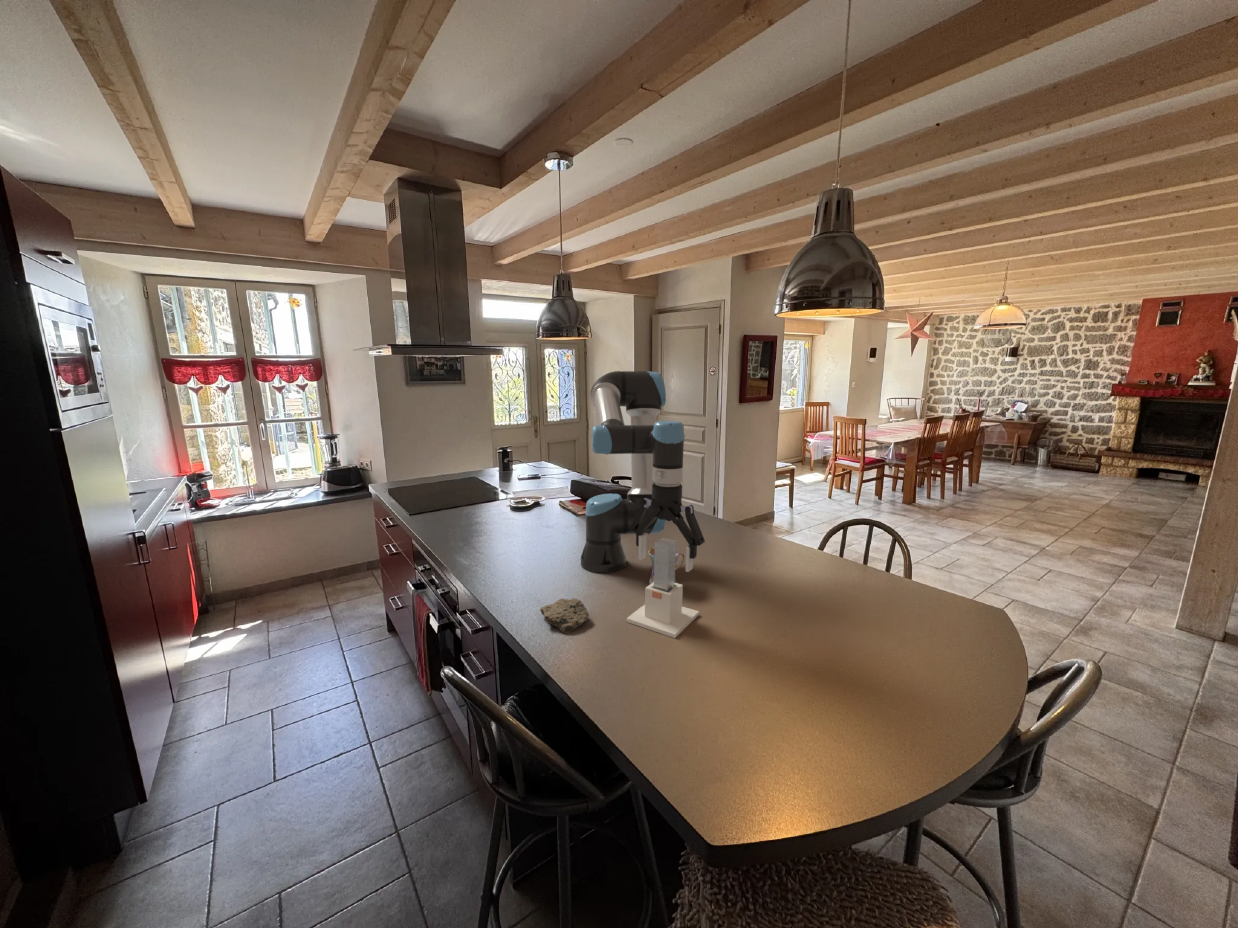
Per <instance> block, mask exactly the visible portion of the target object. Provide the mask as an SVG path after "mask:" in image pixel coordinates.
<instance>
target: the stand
mask: <svg viewBox="0 0 1238 928" xmlns="http://www.w3.org/2000/svg"><path fill="white" fill-rule="evenodd" d="M644 588H645V589H644V604H643V605H642V606H640V607H639V608H638V609H636V610H635V611H634V612H632V614H630V615H629V616H627V617H626V622H627V623H629V624H631V625H634V626H638V627H642V628H644V629H646V630H649V631H652V632H656V633H658V634H661V635H664V636H667V637H670V638H674V639H676V637H678V636H679V635H680V634H681V633H682V632H683V631H684V630H686V628H687V627H688V626H689V625H690V624H691V623H692V622H693V621H694V620H695V619H696V618H698V616H699V615H700V611H699V610H696V609H693V608H689V607H686V606H683V593H684V592H683V590H684V589H683V588H684V585H683V584H682V583H678V582H677V583H675V587H674V589H672V590H671V591H670V592H669V593H668V592H664V591H661V590H657V589H654V582H653V583H651V584H649V585H647V586H646V587H644Z"/></svg>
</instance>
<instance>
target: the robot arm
mask: <svg viewBox="0 0 1238 928" xmlns="http://www.w3.org/2000/svg"><path fill="white" fill-rule="evenodd" d="M589 395H590V401H591V402H590V403H592V405H593V407H594V411H595V417H596V425H594V426H593V427H592V428H591V449H592V450H591V451H592V453H594V454H599V455H606V456H607V455H624V454H626V455H630V454H631V456H630V459H631V462H630V465H631V466H630V467H631V489H630V490H629V491H628V492H627V494H626V498H622V495H620V494H618V493H602V494H598V495H595V496H593V497H591V498H589V499H588V500H587V501H586V505H585V512H584V513H585V514H584V515H585V543H584V544H585V545H584V547H583V550H582V552H581V555H580V566H581V567H582V568H583V569H585V570H586V571H589V572H593V573H603V574H604V573H613V572H618V571H620V570H622V569H624V568H625V567H626V564H627V561H626V560H627V557H626V555H625V551H624V548H623V544H622V535H635V539H636V540H635V545H636V547H638V554H637V555H638V560H639V561H642V560H644V559H645V558H646V557H647V534H648V535H651V534H652V535H653V534H661V533H662V532H663V531H664V529H665V527H666V524H667V522H672V523H673V524H674V525H675V526H676V527H677V529H678V530H679V532H680V534H682V536H683V538H684V540H685V541H686V542H687V544H688V545H686V547H685V548H686V549H685V569H684V570H685V571H684V572H686V573H689V572H690V571H692V570H693V568H694V559H696V558H697V553H698V551H697V550H698V546H699V547H700V546H701V545H703V544H704V543H705V542H706V541H705V537H704V535H703V532H702V530H701V528H700V524H699V523H698V520H697V517H696V515H695V508H694V505H693V504H690V505H683V504H682V503H683V502H682V498H683V485H682V483H683V477H684V476H683V475H684V474H683V473H684V468H683V466H684V448H685V447H684V446H685V437H686V435H685V425H684V423H683V422H681V421H676V420H658V421H657V417H658V415H659V414H660V413H661V410H662V409H661V408H663V407H664V406H665V405H666V399H667V398H666V396H667V395H666V386H665V381H664V378H663V375H662V374H661V373H660V372H658V371H648V370H646V371H644V370H643V371H642V370H640V371H639V370H637V371H635V370H634V371H632V370H631V371H630V370H629V371H628V370H627V371H626V370H625V371H624V370H623V371H621V370H616V371H610V372H608V373H605V374H604V375H602V376H601V377H599V378H598V379H597V380H596V381H595V382H594V383H593V384H592V387H591V388H590V394H589ZM621 407H625V411H626V414H627V415H629V416H630V424H627V425H625V421H624V418H623V417H624V416H623V414H622V409H621ZM681 512H683V515H684V516H685V518H686V519H685V520H686V521H687V522H686V521H685V520H684V517H683V515H682V513H681Z"/></svg>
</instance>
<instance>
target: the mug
mask: <svg viewBox="0 0 1238 928" xmlns="http://www.w3.org/2000/svg"><path fill="white" fill-rule="evenodd" d="M647 552H648V555H649V558H650V562H651V568H652V569H651V570H652V571H651V575H650V578H649V580H648V584H649V585H650V584H651V583H653V582H654V554H655V547H651V548H650V549H649V550H648V551H647ZM680 555H681V556H682V558H681V560H680V562H679V564H678V565H677V566H675V572H676V571H677V570H678V569H679V568H680V567H681V566H682V565H683V562H684V560H685V555H684V553H682V552H680V551H679V550H678V549H676V558H675V565H676V563H677V560H678V558H679V556H680ZM675 583H678V582H677V578H675Z"/></svg>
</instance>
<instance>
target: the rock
mask: <svg viewBox="0 0 1238 928" xmlns="http://www.w3.org/2000/svg"><path fill="white" fill-rule="evenodd" d="M539 611H540V613H541V615H542V616H543V618H544V620H545V621H546V622H547V623H548V624H551V625H552V626H555V627H557V628H558V629H559V630H560V631H561V632H562V633H565V634H569V633H570V632H572V631H573V630H574V629H576V628H577V627H579V626H581V625H582V624H584V622H585V621H587V620H588V619H589V618H590V614H589V611H588V609H587V607H586V606H585V605H584V603H583V602H582V601H581V600H580V599H578V598H574V597H573V598H571V599H568V598H567V599H565V598H559V599H558V600H556V601H555V602H553V603H552V604H546V605H544V606H541V607H540V610H539Z"/></svg>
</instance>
